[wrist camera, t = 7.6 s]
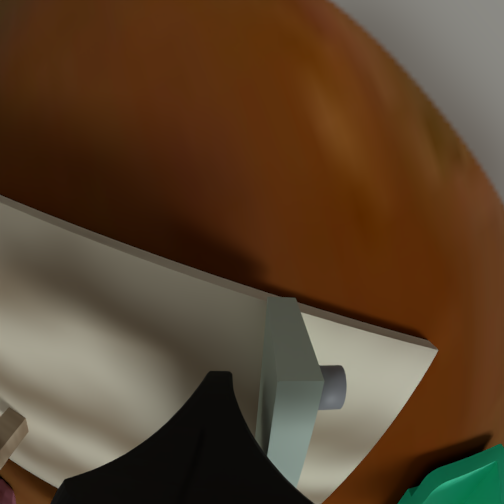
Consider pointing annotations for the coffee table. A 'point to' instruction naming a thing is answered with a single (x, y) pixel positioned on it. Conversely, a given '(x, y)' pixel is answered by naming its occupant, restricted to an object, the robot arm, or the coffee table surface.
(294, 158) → the coffee table surface
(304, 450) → the door
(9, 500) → the apple
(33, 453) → the door frame board
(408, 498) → the camera mount
